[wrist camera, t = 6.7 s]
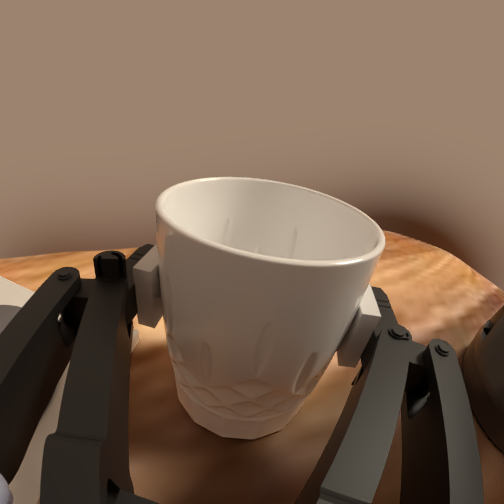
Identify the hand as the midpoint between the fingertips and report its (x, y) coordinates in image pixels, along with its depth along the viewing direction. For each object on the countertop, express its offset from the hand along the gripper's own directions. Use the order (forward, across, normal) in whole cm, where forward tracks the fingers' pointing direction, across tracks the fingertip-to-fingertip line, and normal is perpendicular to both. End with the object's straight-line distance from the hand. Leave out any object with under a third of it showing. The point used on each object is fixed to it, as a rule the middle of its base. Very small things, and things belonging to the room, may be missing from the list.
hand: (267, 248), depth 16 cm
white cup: (-5, 0, -6) cm, 8 cm away
